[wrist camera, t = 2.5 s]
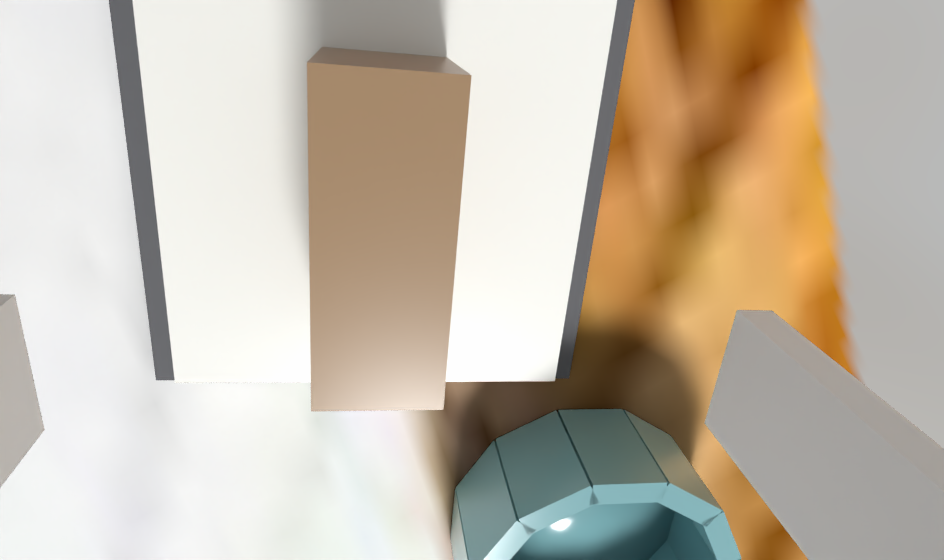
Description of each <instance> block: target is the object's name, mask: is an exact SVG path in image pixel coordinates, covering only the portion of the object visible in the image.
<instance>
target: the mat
mask: <svg viewBox="0 0 944 560" xmlns="http://www.w3.org/2000/svg"><path fill="white" fill-rule="evenodd" d="M634 2H635V0H617V5H616V11H615V17H614V23H613V29H612V35H611V41H610V47H609V54H608V60H607V66H606V72H605V78H604V84H603V90H602V96H601V102H600V108H599V115H598V121H597V127H596V133H595V139H594V145H593V151H592V157H591V163H590V169H589V176H588V182H587V188H586V194H585V200H584V206H583V212H582V218H581V224H580V231H579V237H578V243H577V249H576V255H575V261H574V267H573V273H572V279H571V285H570V292H569V298H568V304H567V310H566V316H565V322H564V328H563V334H562V340H561V346H560V353H559V359H558V365H557V371H556V377H555V378H569V376H570V370H571V364H572V358H573V353H574V347H575V341H576V335H577V330H578V324H579V318H580V312H581V307H582V301H583V295H584V289H585V284H586V278H587V272H588V266H589V261H590V255H591V249H592V243H593V238H594V232H595V226H596V220H597V215H598V209H599V203H600V197H601V192H602V186H603V180H604V174H605V169H606V163H607V157H608V151H609V146H610V140H611V134H612V128H613V123H614V117H615V111H616V105H617V99H618V94H619V88H620V82H621V76H622V71H623V65H624V59H625V53H626V48H627V42H628V36H629V30H630V25H631V19H632V13H633V7H634ZM109 5H110V13H111V21H112V29H113V37H114V45H115V53H116V61H117V69H118V77H119V86H120V94H121V102H122V110H123V118H124V126H125V134H126V142H127V150H128V158H129V166H130V174H131V182H132V190H133V198H134V206H135V214H136V222H137V230H138V238H139V246H140V254H141V262H142V271H143V279H144V287H145V295H146V303H147V311H148V319H149V327H150V335H151V343H152V351H153V359H154V367H155V375H156V380H175V379H174V370H173V361H172V352H171V343H170V334H169V325H168V316H167V307H166V298H165V289H164V280H163V271H162V262H161V253H160V244H159V235H158V226H157V217H156V208H155V199H154V190H153V181H152V172H151V163H150V154H149V145H148V136H147V127H146V118H145V109H144V100H143V91H142V82H141V73H140V64H139V55H138V46H137V37H136V28H135V19H134V10H133V1H132V0H109Z"/></svg>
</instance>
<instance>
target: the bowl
mask: <svg viewBox="0 0 944 560" xmlns="http://www.w3.org/2000/svg"><path fill="white" fill-rule="evenodd" d="M450 540H451V547H452V554H453V560H741V559H740V558H741V556H740V553H739V551H738V548H737V545H736V543H735V540H734V537H733V535H732V532H731V529H730V527H729V524H728V522H727V519H726V516H725V514H724V511H723V510H722V509H721V507H720V506H719V504H718V503H717V501H716V500H715V498H714V497H713V496H712V494H711V493H710V491H709V490H708V488H707V487H706V485H705V484H704V483H703V481H702V480H701V478H700V477H699V475H698V474H697V473H696V471H695V470H694V468H693V467H692V465H691V464H690V462H689V461H688V460H687V458H686V457H685V455H684V454H683V452H682V451H681V449H680V448H679V447H678V445H677V444H676V442H675V441H674V439H673V438H672V437H671V435H669V434H667V433H665V432H664V431H662V430H660V429H658V428H656V427H655V426H653V425H651V424H649V423H647V422H646V421H644V420H642V419H640V418H639V417H637V416H635V415H633V414H631V413H630V412H628V411H626V410H622V409H576V410H558V413H557V411H554V412H551V413H549V414H547V415H545V416H543V417H541V418H539V419H537V420H535V421H532V422H530V423H528V424H526V425H524V426H522V427H520V428H518V429H516V430H513V431H511V432H509V433H507V434H505V435H503V436H501V437H499V438H497V439H496V441H493V442H492V443H491V444H490V446H489V447H488V448H487V449H486V451H485V452H484V453H483V454H482V456H481V457H480V458H479V459H478V461H477V462H476V463H475V464H474V465H473V467H472V468H471V469H470V470H469V472H468V473H467V474H466V475H465V477H464V478H463V479H462V480H461V482H460V483H459V484H458V485H457V487H456V489H455V495H454V505H453V515H452V525H451V535H450Z"/></svg>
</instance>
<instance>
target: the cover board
mask: <svg viewBox="0 0 944 560" xmlns="http://www.w3.org/2000/svg"><path fill="white" fill-rule="evenodd" d="M132 1H133V10H134V19H135V28H136V37H137V46H138V55H139V64H140V73H141V82H142V91H143V100H144V109H145V118H146V127H147V136H148V145H149V154H150V163H151V172H152V181H153V190H154V199H155V208H156V217H157V226H158V235H159V244H160V253H161V262H162V271H163V280H164V289H165V298H166V307H167V316H168V325H169V334H170V343H171V352H172V361H173V370H174V379H175V383H295V382H311V411H378V410H443V406H444V394H445V382H494V381H555V377H556V371H557V365H558V359H559V353H560V346H561V340H562V334H563V328H564V322H565V316H566V310H567V304H568V298H569V292H570V285H571V279H572V273H573V267H574V261H575V255H576V249H577V243H578V237H579V231H580V224H581V218H582V212H583V206H584V200H585V194H586V188H587V182H588V176H589V169H590V163H591V157H592V151H593V145H594V139H595V133H596V127H597V121H598V115H599V108H600V102H601V96H602V90H603V84H604V78H605V72H606V66H607V60H608V54H609V47H610V41H611V35H612V29H613V23H614V17H615V11H616V5H617V0H132Z"/></svg>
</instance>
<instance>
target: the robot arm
mask: <svg viewBox="0 0 944 560" xmlns="http://www.w3.org/2000/svg"><path fill="white" fill-rule="evenodd" d="M705 424H706V426H707V427H708V428H709V430H710V431H711V432H712V434H713V435H714V436H715V438H716V439H717V440H718V441H719V443H720V444H721V445H722V447H723V448H724V449H725V451H726V452H727V453H728V455H729V456H730V457H731V458H732V460H733V461H734V462H735V464H736V465H737V466H738V468H739V469H740V470H741V472H742V473H743V474H744V476H745V477H746V478H747V479H748V481H749V482H750V483H751V485H752V486H753V487H754V489H755V490H756V491H757V493H758V494H759V495H760V496H761V498H762V499H763V500H764V502H765V503H766V504H767V506H768V507H769V508H770V510H771V511H772V512H773V514H774V515H775V516H776V517H777V519H778V520H779V521H780V523H781V524H782V525H783V527H784V528H785V529H786V531H787V532H788V533H789V534H790V536H791V537H792V538H793V540H794V541H795V542H796V544H797V545H798V546H799V548H800V549H801V550H802V552H803V553H804V554H805V555H806V557H807V558H808V559H809V560H944V449H943V448H942V447H941V446H940V445H938V444H937V443H936V442H935V441H934V440H932V439H931V438H930V437H929V436H927V435H926V434H925V433H924V432H922V431H921V430H920V429H919V428H917V427H916V426H915V425H914V424H912V423H911V422H910V421H909V420H907V419H906V418H905V417H904V416H902V415H901V414H900V413H898V412H897V411H896V410H895V409H894V408H892V407H891V406H890V405H889V404H887V403H886V402H885V401H884V400H882V399H881V398H880V397H879V396H877V395H876V394H875V393H874V392H872V391H871V390H870V389H869V388H868V387H866V386H865V385H864V384H863V383H861V382H860V381H859V380H858V379H856V378H855V377H854V376H853V375H851V374H850V373H849V372H848V371H846V370H845V369H844V368H843V367H841V366H840V365H839V364H838V363H836V362H835V361H834V360H833V359H831V358H830V357H829V356H828V355H826V354H825V353H824V352H823V351H821V350H820V349H819V348H818V347H816V346H815V345H814V344H813V343H811V342H810V341H809V340H808V339H806V338H805V337H804V336H803V335H801V334H800V333H799V332H798V331H796V330H795V329H794V328H793V327H792V326H790V325H789V324H788V323H787V322H785V321H784V320H783V319H782V318H780V317H779V316H778V315H777V314H775V313H774V312H773V311H761V310H737V312H736V315H735V319H734V322H733V326H732V329H731V333H730V336H729V340H728V343H727V347H726V350H725V354H724V357H723V361H722V364H721V368H720V371H719V374H718V378H717V381H716V385H715V388H714V392H713V395H712V399H711V402H710V406H709V409H708V413H707V416H706V420H705ZM43 431H44V426H43V421H42V416H41V412H40V407H39V403H38V398H37V394H36V389H35V385H34V380H33V375H32V371H31V366H30V362H29V357H28V353H27V348H26V344H25V339H24V334H23V330H22V325H21V321H20V316H19V312H18V307H17V303H16V298H15V295H3V294H0V487H1V486H2V485H3V483H4V482H5V481H6V480H7V478H8V477H9V476H10V474H11V473H12V472H13V470H14V469H15V468H16V466H17V465H18V464H19V462H20V461H21V460H22V459H23V457H24V456H25V455H26V453H27V452H28V451H29V449H30V448H31V447H32V445H33V444H34V443H35V441H36V440H37V439H38V438H39V436H40V435H41V434H42V432H43Z"/></svg>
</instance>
